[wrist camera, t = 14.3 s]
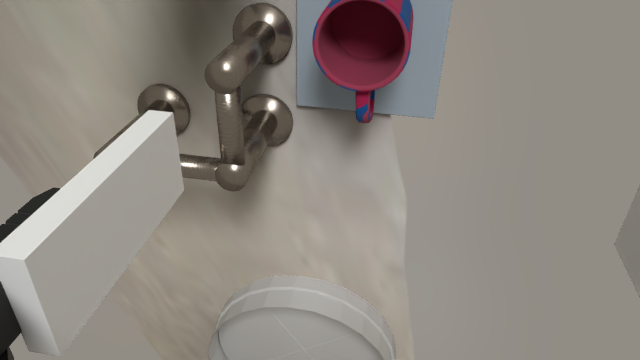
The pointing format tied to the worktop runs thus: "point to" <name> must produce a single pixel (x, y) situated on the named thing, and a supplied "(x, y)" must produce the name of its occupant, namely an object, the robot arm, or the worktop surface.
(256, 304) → the dish
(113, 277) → the robot arm
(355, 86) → the mug
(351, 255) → the worktop surface
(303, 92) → the mat
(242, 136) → the rail
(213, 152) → the worktop surface
